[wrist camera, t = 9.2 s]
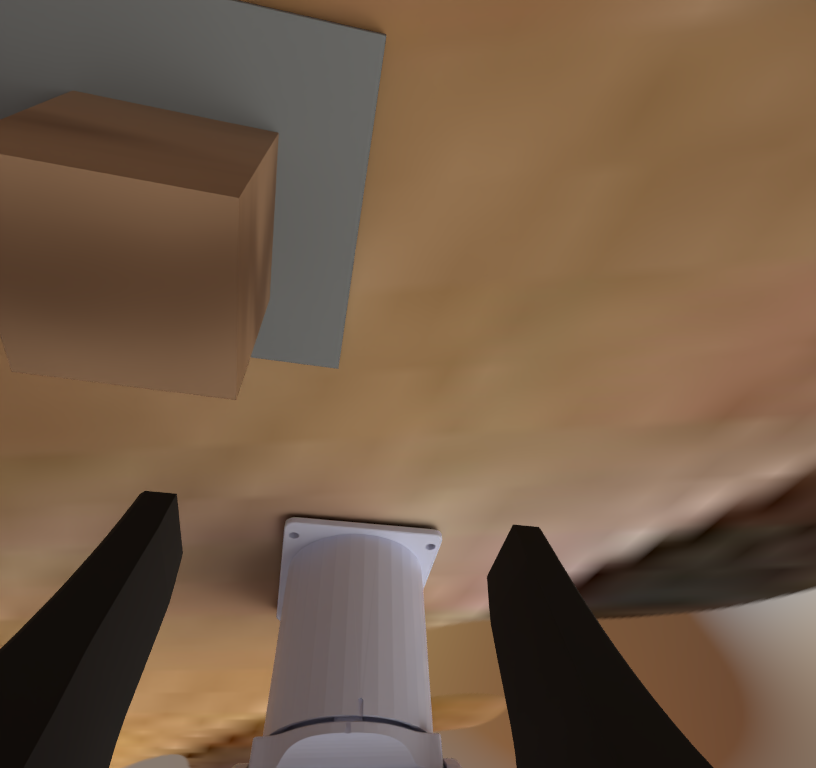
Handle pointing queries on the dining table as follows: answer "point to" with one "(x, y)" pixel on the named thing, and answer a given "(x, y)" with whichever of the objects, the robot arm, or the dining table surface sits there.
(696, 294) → the dining table surface
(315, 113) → the mat
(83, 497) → the dining table surface
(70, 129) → the walnut cube
